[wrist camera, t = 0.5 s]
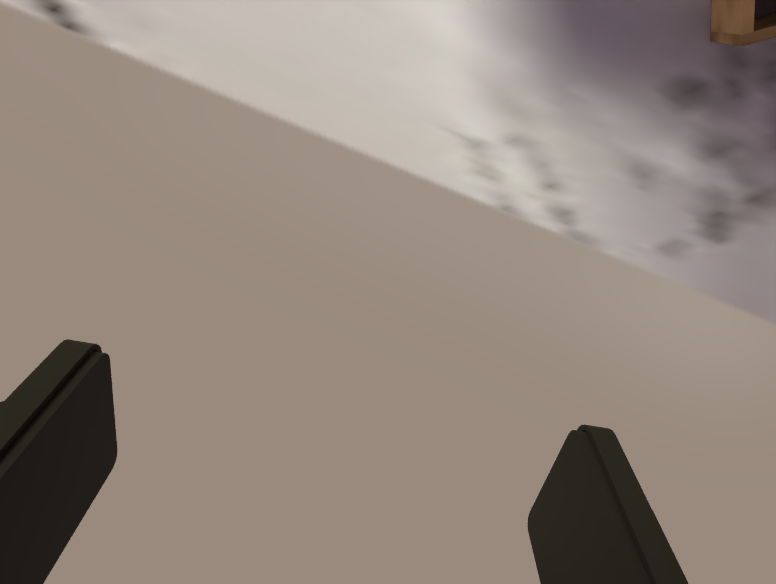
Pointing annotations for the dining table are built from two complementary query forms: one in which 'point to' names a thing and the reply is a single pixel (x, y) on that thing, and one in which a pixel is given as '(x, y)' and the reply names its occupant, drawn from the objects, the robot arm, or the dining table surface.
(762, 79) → the dining table surface
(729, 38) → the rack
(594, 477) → the robot arm
